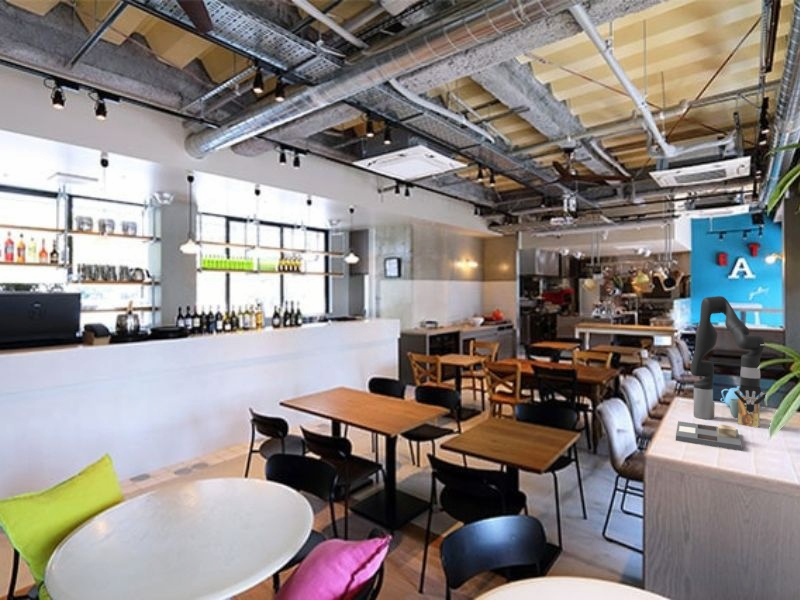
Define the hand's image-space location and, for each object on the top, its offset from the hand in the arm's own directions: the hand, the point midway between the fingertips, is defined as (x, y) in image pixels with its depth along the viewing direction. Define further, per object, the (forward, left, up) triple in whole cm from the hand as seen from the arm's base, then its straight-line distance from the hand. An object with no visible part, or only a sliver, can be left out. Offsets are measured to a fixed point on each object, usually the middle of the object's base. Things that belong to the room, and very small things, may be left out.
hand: (750, 411), depth 213 cm
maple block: (+8, -5, -13) cm, 16 cm away
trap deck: (+14, -9, -16) cm, 23 cm away
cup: (-26, -44, -16) cm, 53 cm away
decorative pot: (-41, -64, -16) cm, 77 cm away
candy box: (-21, -29, -16) cm, 39 cm away
